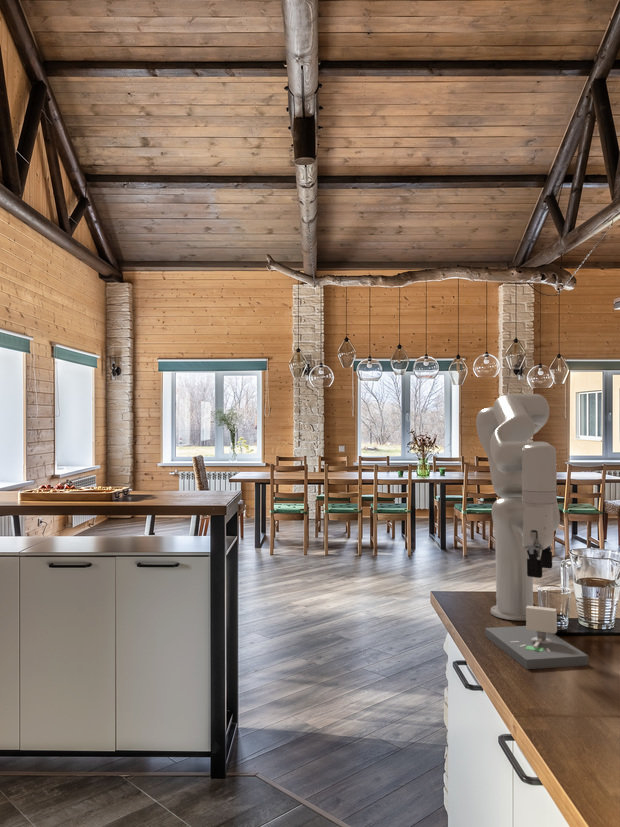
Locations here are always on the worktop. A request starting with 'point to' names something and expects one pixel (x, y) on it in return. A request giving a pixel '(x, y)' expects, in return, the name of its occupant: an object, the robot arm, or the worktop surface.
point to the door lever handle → (541, 621)
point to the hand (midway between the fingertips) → (539, 572)
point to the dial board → (545, 656)
